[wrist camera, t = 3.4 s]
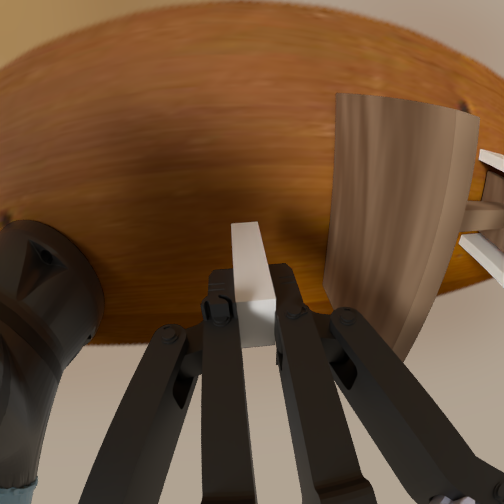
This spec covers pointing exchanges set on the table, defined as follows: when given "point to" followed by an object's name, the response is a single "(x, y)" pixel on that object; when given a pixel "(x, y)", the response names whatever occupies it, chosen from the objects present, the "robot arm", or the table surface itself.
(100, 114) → the table surface
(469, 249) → the tunnel
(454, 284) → the table surface
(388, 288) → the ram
